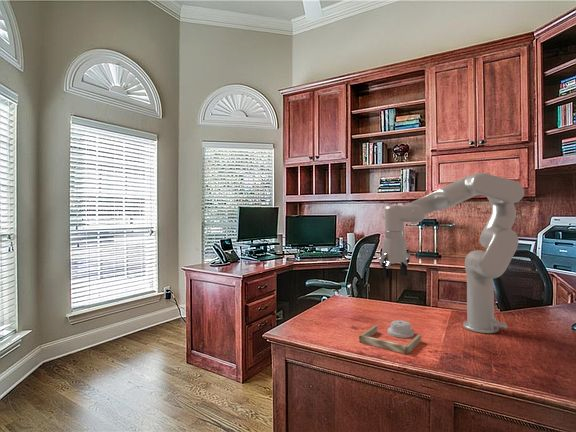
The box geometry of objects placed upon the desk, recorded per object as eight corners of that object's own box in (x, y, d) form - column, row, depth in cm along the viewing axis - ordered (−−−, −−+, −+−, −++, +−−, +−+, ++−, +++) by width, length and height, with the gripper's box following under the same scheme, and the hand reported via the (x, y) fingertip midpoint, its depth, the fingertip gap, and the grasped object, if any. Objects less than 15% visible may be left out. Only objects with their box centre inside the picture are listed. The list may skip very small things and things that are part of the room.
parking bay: (421, 341, 126) (420, 334, 125) (407, 354, 115) (407, 347, 115) (375, 331, 137) (375, 325, 137) (359, 342, 126) (359, 335, 126)
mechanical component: (388, 337, 130) (416, 339, 128) (388, 326, 130) (415, 327, 128) (386, 328, 140) (412, 330, 138) (386, 318, 140) (411, 319, 138)
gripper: (402, 233, 147) (403, 272, 148) (372, 235, 139) (373, 277, 139) (416, 234, 141) (417, 275, 141) (385, 237, 133) (386, 280, 133)
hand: (395, 276), depth 140 cm, fingers open, 9 cm apart
